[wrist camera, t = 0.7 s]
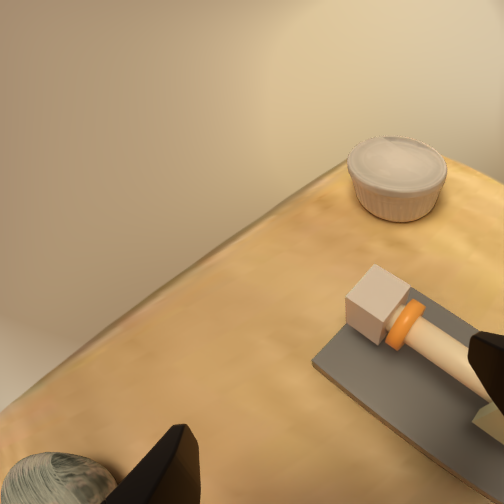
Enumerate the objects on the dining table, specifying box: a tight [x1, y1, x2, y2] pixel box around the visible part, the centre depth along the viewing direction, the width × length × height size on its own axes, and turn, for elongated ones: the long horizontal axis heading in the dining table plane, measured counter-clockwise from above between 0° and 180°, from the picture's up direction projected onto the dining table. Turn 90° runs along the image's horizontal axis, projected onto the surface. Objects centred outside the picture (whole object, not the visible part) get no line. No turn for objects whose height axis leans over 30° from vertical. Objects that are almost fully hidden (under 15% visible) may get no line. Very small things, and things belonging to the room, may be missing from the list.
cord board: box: [311, 264, 504, 504], centre depth 14 cm, size 22×10×7 cm, turn 41°
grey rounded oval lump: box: [1, 452, 117, 504], centre depth 14 cm, size 14×10×10 cm
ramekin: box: [347, 136, 447, 222], centre depth 30 cm, size 11×11×5 cm
